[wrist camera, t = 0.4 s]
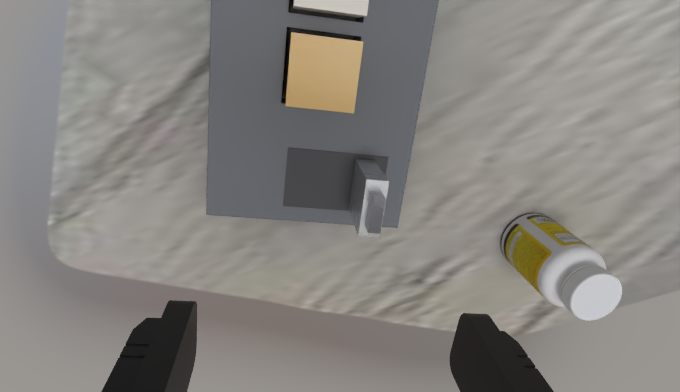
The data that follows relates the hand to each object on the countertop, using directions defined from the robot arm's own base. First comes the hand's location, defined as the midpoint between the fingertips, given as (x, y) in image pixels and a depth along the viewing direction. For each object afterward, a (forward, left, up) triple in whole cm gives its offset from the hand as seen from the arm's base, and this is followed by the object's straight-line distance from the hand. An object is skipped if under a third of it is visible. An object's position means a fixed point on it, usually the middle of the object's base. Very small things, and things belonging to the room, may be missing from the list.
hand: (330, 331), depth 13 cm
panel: (-5, +1, -24) cm, 24 cm away
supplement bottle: (+7, +22, -24) cm, 33 cm away
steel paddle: (+2, +5, -21) cm, 21 cm away
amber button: (-6, 0, -22) cm, 23 cm away
